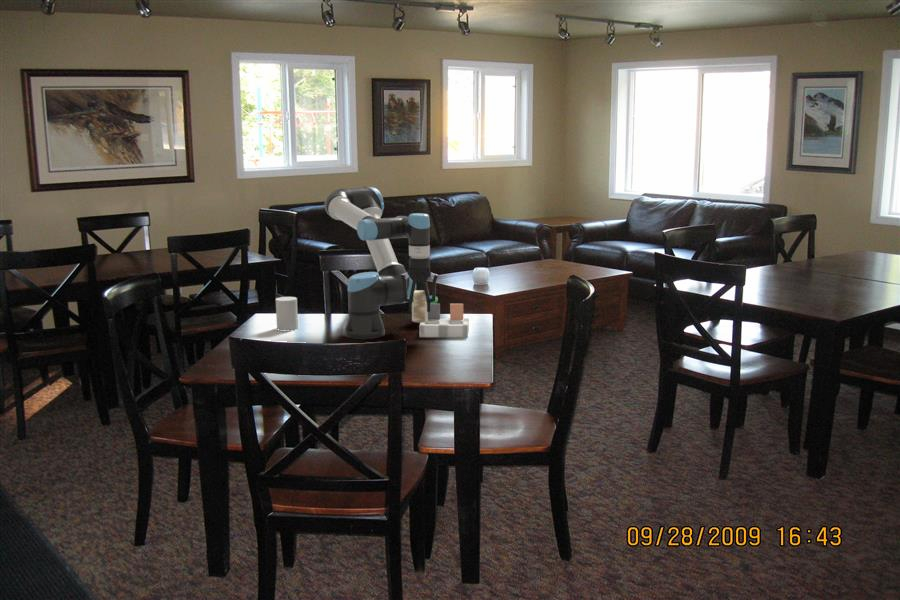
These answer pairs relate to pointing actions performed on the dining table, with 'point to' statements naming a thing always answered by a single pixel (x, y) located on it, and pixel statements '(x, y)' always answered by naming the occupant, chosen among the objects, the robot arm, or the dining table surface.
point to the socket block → (445, 323)
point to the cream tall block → (419, 305)
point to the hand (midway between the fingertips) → (419, 320)
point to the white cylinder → (286, 313)
